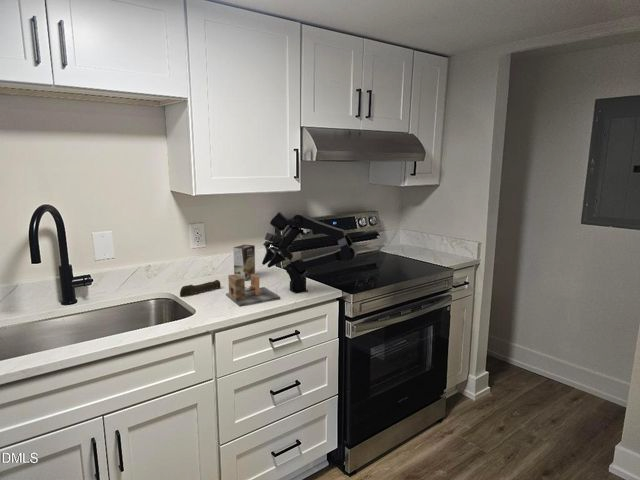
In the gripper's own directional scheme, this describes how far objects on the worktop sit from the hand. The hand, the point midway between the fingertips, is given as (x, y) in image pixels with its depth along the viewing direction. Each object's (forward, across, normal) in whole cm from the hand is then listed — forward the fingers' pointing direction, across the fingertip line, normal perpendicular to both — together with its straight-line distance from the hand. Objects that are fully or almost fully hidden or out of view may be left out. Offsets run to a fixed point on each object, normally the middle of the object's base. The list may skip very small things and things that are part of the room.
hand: (265, 265), depth 182 cm
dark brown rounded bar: (+26, -18, -7) cm, 32 cm away
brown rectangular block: (+14, 0, +2) cm, 14 cm away
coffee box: (+8, -29, +11) cm, 32 cm away
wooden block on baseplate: (+14, 0, +5) cm, 14 cm away
